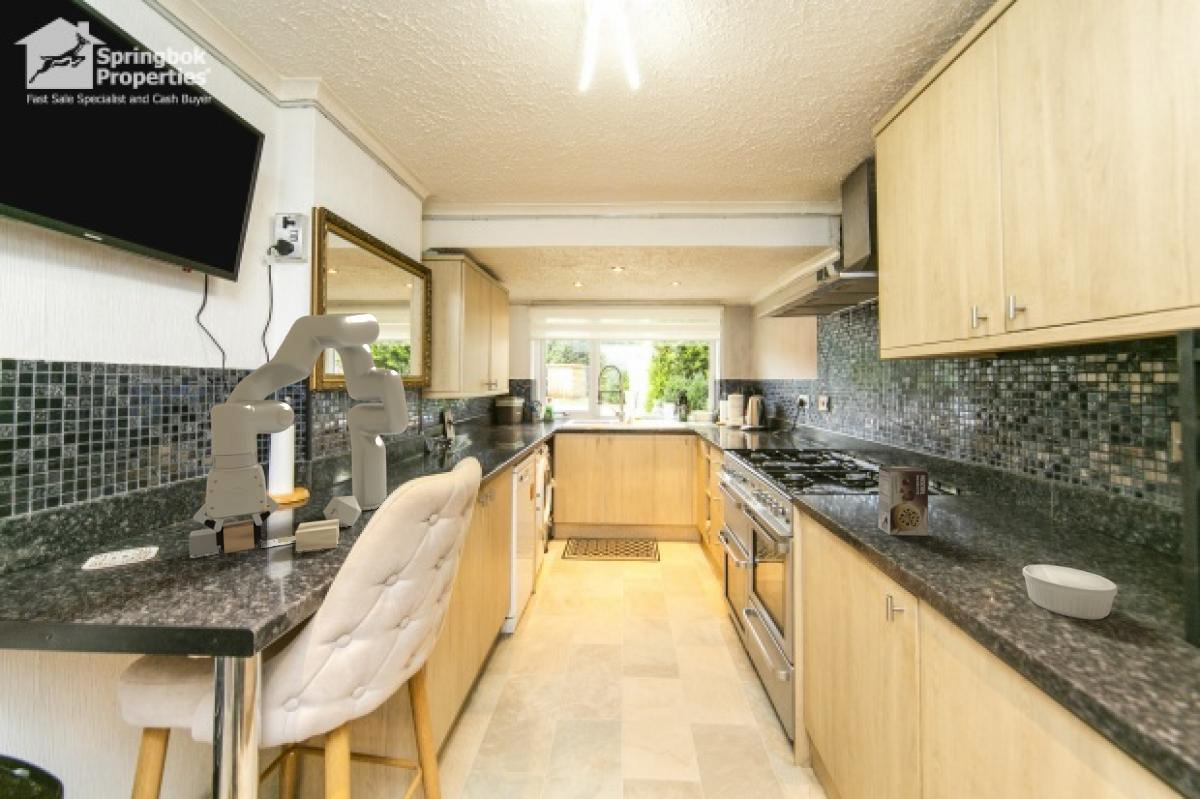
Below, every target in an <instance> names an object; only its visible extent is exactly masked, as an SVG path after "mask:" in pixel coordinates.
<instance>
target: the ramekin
mask: <svg viewBox="0 0 1200 799" xmlns="http://www.w3.org/2000/svg"><path fill="white" fill-rule="evenodd" d="M1022 575H1023V577H1024V580H1025V585H1026V586H1025V587H1026V590H1027V594H1028V597H1029V599H1030V600H1031V601H1032V602H1033V604H1035V605H1037V606H1038V607H1040V608H1042V609H1045V610H1046V611H1050V612H1052V613H1056V614H1058V615H1061V616H1062V615H1063V616H1067V617H1071V618H1077V619H1084V620H1101V619H1105V617H1107V616H1108V615H1110V612H1111V609H1112V606H1113V603H1114V600H1115V596H1116V595H1117V594H1118V590H1119V589H1118V586H1117V585H1116V583H1114V582H1113V581H1112V580H1109V579H1108V578H1106V577H1103V576H1101V575H1098V574H1095V573H1092V572H1090V571H1089V572H1087V571H1084V570H1080V569H1078V568H1077V569H1076V568H1072V567H1067V566H1060V565H1051V564H1029V565H1026V566H1024V567H1023V568H1022Z"/></svg>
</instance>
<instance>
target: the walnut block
mask: <svg viewBox="0 0 1200 799" xmlns="http://www.w3.org/2000/svg"><path fill="white" fill-rule="evenodd" d="M253 524H254V519H253V518H252V519H246V520H239V521H233V522H224V523H223V527H224V529H223V532H224V550H223V551H224V554H228V553H234V552H238V551H239V552H240V551H244V550H250V549H254V548H255V544H254V530H253Z"/></svg>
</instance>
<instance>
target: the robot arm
mask: <svg viewBox="0 0 1200 799" xmlns="http://www.w3.org/2000/svg"><path fill="white" fill-rule="evenodd" d="M379 335H380V324H379V321H378V320H377V318H375V316H374V315H372V314H369V313H365V312H364V313H363V312H362V313H360V312H359V313H357V312H356V313H328V314H321V315H320V314H317V315H316V314H313V315H303V316H300V317H299V318H297V319H296V320H295V321H294V323H293V324H292V326H291V327H290V329H289V331H288V332H287V334H286V335H285V337H284V338H283V341H282V342H281V343H280V346H279V347H278V348H277V350H276V352H275V354H274V355H273V357H272V358H271V359H270V360H268V361H267V362H265V363H264V364H262V365H261V366H259V367H258V368H256V369H255V370H253V371H252V372H251V373H249V374H248V375H247V376H245V377H244V378H243V379H242V380H240V381H239V382H238V384H236V386H235V387H234V389H233V390H232V392H231V393H230V395H229V397H228V398H227V400H226V401H225V403H219V404H215V405H213V406H212V408H210V409H211V410H210V426H211V428H210V429H211V444H212V445H211V446H212V455H211V456H210V457H207V458H206V457H205V458H203V463H204V464H203V465H204V466H211V467H212V468H211V469H210V470H209V471H208V474H207V478H206V492H205V493H206V495H205V496H206V499H205V503H204V504H203V505H202V506H201V507H200V509H198V511H197V512H196V513H195V514H194V515H193V520H194V521H196V522H198V523H201V524H203V525H204V526H206V527H208V529H213V530H214V531H215V532H216V544H217V546H220V551H224V532H223V529H224V521H225V519H226V518H227V519H228V518H235V517H242V516H247V515H251V516H252V519H253V530H254V545H258V540H262V524H263V523H264V522H265V521H266V520H268V518H269V517H270V516H271V515H272V514H273V513H274V512H276V511H277V510H278V509H280V504H279V503H278V502H277V501H276V500H275V499H274V498H272V497H271V496H270V495H269V494H268V493H267V485H266V477H265V473H264V469H263V466H262V465H261V464H259V463H258V461H259V460H258V446H257V442H258V440H257V435H258V434H278V433H279V434H280V433H282V432H285V431H287V430H288V429H289V428H290V427H291V426H292V425H293V423H294V420H295V412H294V410H293V408H292V407H291V406H290V405H289V404H287V403H286V402H284V401H280V400H269V399H268V400H267V399H266V398H267V397H268V396H270V395H271V394H272V393H275V392H276V391H278V390H280V389H283V388H286V387H288V386H290V385H293V384H296V383H298V382H301V381H303V380H304V379H306V378H308V377H309V376H310V375H311V373H312V372H313V369H314V368H315V366H316V363H317V362H318V360H319V358H320V356H321V354H322V352H323V351H324V350H325V349H334V350H335V351H336V353H337V354H338V356H339V358H340V361H341V365H342V367H341V368H342V372H343V376H344V382H345V386H346V390H347V394H348V396H349V397H350V398H351V399H353V400H356V401H378V402H379V401H381V402H382V403H378V402H377V403H373V402H372V403H370V402H369V403H360V404H356V405H354V406H352V407H351V408H350V409H349V410H348V412H347V416H346V423H347V427H348V432H349V436H350V443H351V444H350V445H351V482H352V483H351V485H352V496H355V498H356V500H357V503H358V505H359V507H360V509H361V511H369V510H370V511H371V509H372V510H377V508H378V507H379V505H380V504H381V503H382V502H383V500H384V499H385V498H386V497H387V495H388V494H387V492H388V491H387V449H386V445H385V443H384V440H383V439H382V438H381V436H380V435H385V436H388V435H389V436H394V435H401V434H403V433H404V432H405V431H406V430H407V427H408V425H409V413H408V407H407V406H408V405H407V402H406V393H405V388H404V387H405V386H404V383H403V380H402V377H401V376H400V373H398V372H397V371H396V370H393V369H390V368H377V367H376V365H375V361H374V358H373V357H374V356H373V352H372V351H371V347H369V345H370V344H373V343H374V342H376V340H377V339H378V337H379ZM265 399H266V400H265ZM387 498H388V497H387ZM267 506H269V507H267ZM378 509H379V508H378ZM205 515H207V516H205Z"/></svg>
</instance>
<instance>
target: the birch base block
mask: <svg viewBox="0 0 1200 799" xmlns="http://www.w3.org/2000/svg"><path fill="white" fill-rule="evenodd" d="M294 535H295V537H296V544H295V552H296V551H303V550H312V549H322V548H332V547H337V548H338V546H337V544H338V545H339V541H338V539H339V540H340V528H339V519H334V520H327V519H325V520H316V521H310V522H309V521H308V522H300V523H299V525H298V527H297V529H296V530H295V534H294Z"/></svg>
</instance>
